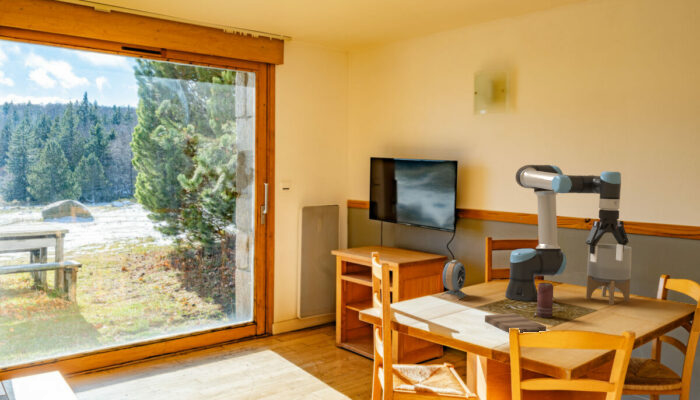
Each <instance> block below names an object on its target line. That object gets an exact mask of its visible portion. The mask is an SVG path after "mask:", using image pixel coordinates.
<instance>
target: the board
mask: <svg viewBox="0 0 700 400" xmlns="http://www.w3.org/2000/svg"><path fill="white" fill-rule="evenodd" d="M484 322H485V323H487V324H489V325H491V326H493V327H495V328H497V329H499V330H502V331H503V332H505V333H507V332H508V333H507V334H509V328H519V330H520V333H523V332H539V331H546V332H547V326H546V325H544V324H541V323H539V322H536V321H534V320H532V319H529V318H527V317H525V316H522V315H520V314H518V313H514V312H512V313H511V312H510V313H499V314H487V315H484Z"/></svg>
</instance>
